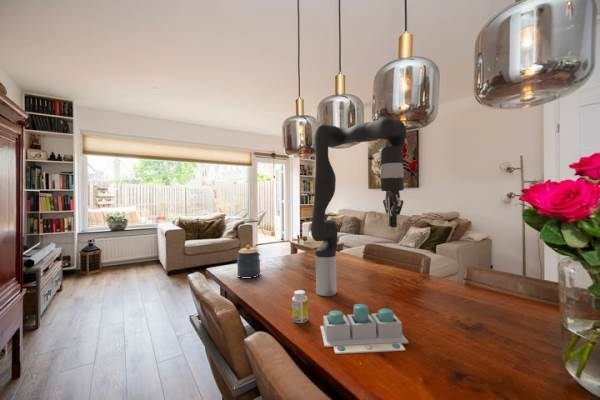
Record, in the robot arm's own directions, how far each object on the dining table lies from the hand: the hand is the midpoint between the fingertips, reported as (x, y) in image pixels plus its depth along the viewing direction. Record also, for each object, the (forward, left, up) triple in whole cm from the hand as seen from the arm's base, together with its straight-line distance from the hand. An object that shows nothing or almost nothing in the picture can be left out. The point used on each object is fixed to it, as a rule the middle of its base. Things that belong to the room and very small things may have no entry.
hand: (393, 227), depth 94 cm
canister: (-62, -60, -33) cm, 92 cm away
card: (+16, -14, -33) cm, 39 cm away
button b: (+8, -14, -30) cm, 34 cm away
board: (+8, -14, -33) cm, 37 cm away
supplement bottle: (-4, -33, -33) cm, 47 cm away
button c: (+8, -6, -32) cm, 33 cm away
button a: (+8, -22, -32) cm, 40 cm away
